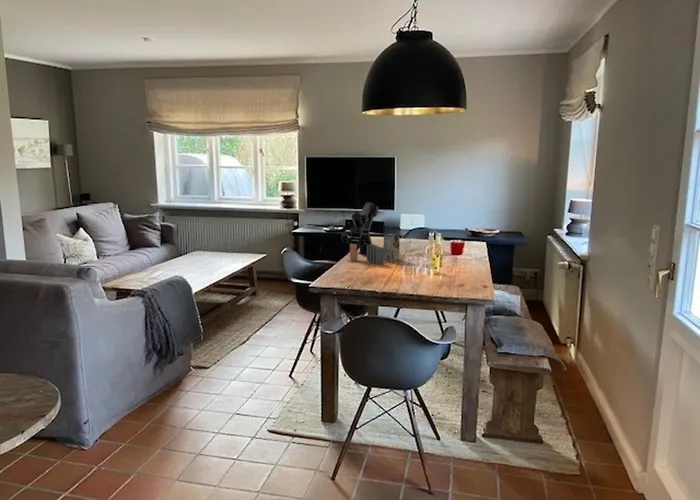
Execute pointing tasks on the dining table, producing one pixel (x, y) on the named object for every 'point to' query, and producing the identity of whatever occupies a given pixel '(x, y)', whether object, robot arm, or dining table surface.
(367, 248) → the domino
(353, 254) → the loose domino
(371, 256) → the domino
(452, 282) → the dining table surface
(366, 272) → the dining table surface
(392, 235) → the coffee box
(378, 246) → the domino
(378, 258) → the domino
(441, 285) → the dining table surface
